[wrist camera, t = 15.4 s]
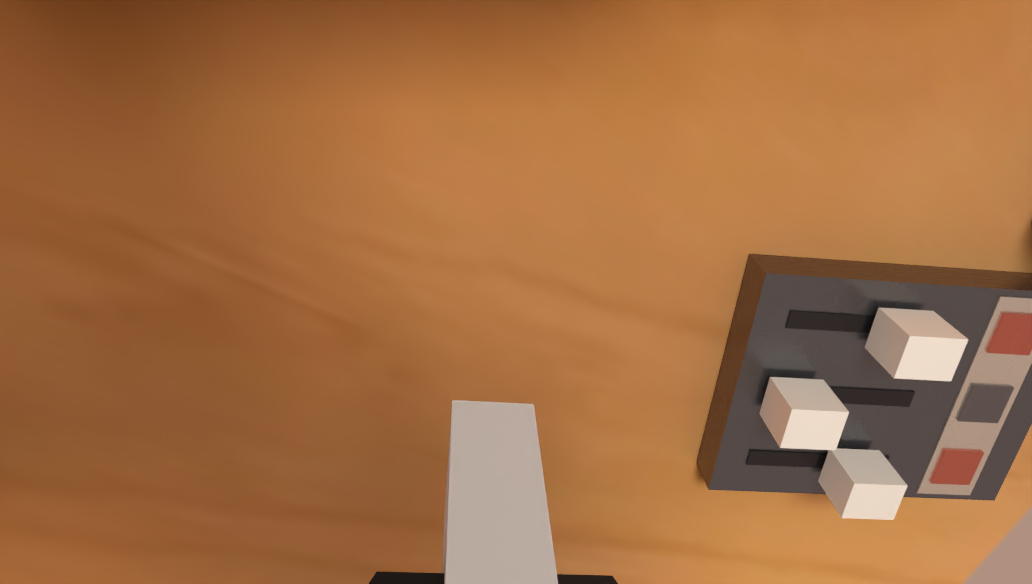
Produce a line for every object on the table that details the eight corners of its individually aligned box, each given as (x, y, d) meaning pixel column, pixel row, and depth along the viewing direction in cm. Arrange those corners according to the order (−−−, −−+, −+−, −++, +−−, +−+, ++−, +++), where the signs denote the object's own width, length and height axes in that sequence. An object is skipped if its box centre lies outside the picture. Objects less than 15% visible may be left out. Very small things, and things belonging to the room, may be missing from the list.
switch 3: (878, 307, 38) (909, 335, 35) (933, 310, 38) (968, 339, 35) (864, 347, 39) (893, 378, 36) (917, 350, 39) (951, 381, 36)
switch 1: (769, 376, 39) (792, 409, 37) (823, 379, 40) (849, 411, 37) (759, 413, 40) (779, 448, 38) (811, 416, 41) (835, 450, 38)
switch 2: (829, 448, 42) (854, 483, 39) (879, 450, 42) (907, 485, 39) (817, 481, 43) (841, 518, 40) (866, 483, 43) (893, 519, 40)
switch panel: (749, 253, 39) (767, 275, 37) (1059, 275, 41) (1098, 297, 38) (696, 462, 45) (709, 492, 43) (969, 473, 47) (997, 503, 45)
